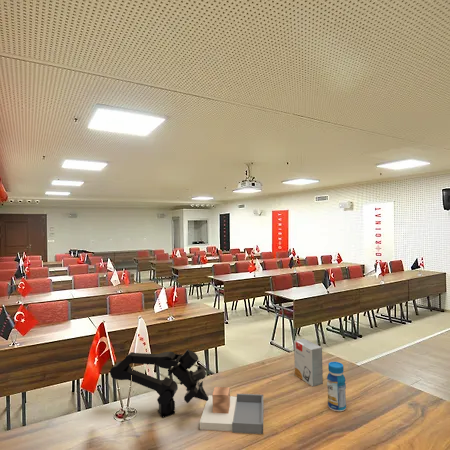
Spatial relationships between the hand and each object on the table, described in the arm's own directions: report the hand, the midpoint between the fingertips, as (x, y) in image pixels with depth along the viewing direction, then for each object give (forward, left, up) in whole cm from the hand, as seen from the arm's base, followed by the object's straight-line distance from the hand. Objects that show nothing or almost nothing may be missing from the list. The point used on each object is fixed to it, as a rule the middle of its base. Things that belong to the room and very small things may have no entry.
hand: (207, 399), depth 148 cm
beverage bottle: (+53, -28, -7) cm, 61 cm away
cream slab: (+4, -3, -7) cm, 9 cm away
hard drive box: (+62, -1, -7) cm, 63 cm away
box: (+14, -11, -7) cm, 20 cm away
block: (+5, -4, -4) cm, 7 cm away
